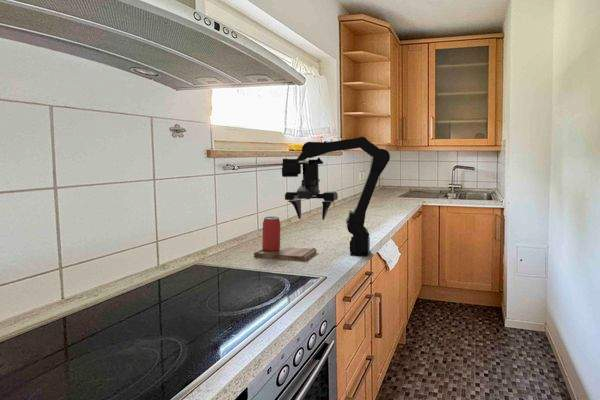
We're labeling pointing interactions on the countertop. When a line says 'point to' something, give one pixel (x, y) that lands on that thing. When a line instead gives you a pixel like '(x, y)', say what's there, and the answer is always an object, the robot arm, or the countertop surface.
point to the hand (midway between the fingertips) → (311, 219)
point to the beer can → (271, 234)
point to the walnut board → (287, 253)
